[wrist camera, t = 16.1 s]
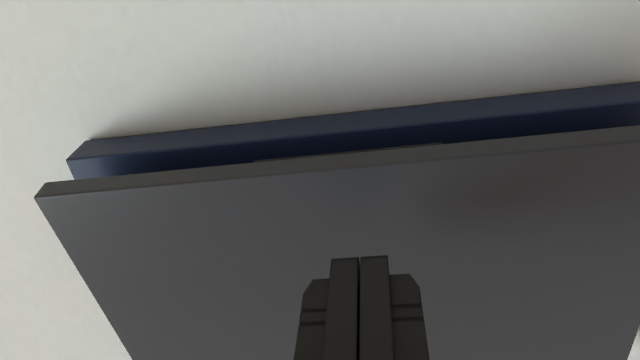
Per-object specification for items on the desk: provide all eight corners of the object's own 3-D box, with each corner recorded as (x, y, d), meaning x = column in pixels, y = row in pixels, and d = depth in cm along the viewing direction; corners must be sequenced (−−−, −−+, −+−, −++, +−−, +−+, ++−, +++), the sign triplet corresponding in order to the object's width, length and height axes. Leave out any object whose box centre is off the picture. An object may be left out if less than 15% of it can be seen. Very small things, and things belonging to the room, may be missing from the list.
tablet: (84, 140, 18) (62, 160, 17) (641, 80, 16) (668, 99, 15) (177, 362, 24) (166, 391, 23) (592, 342, 22) (608, 373, 21)
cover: (46, 180, 16) (32, 197, 15) (689, 117, 14) (708, 134, 13) (167, 389, 23) (161, 408, 22) (607, 371, 21) (616, 391, 20)
